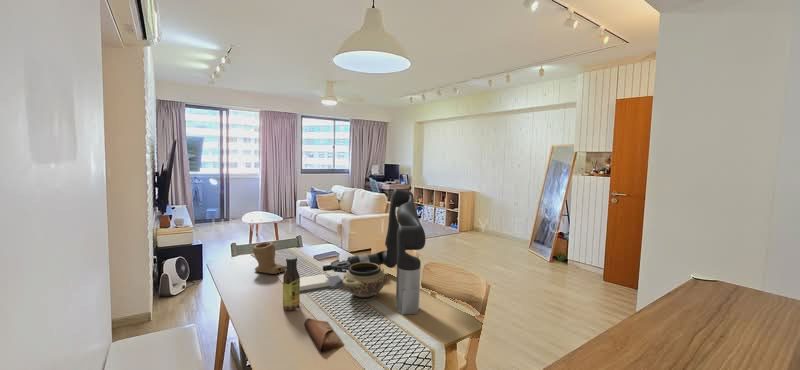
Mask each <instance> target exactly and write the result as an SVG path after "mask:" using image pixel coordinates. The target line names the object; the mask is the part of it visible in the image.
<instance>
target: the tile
mask: <svg viewBox="0 0 800 370" xmlns="http://www.w3.org/2000/svg"><path fill="white" fill-rule="evenodd" d="M327 277H328V276H327V275H325V274H316V275H315V274H314V275H311V276H303V277H300V291H305V290H311V289H317V288H323V287H329V286H330V281H329V279H328V278H327Z"/></svg>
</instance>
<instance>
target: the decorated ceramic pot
mask: <svg viewBox="0 0 800 370" xmlns="http://www.w3.org/2000/svg"><path fill="white" fill-rule="evenodd" d="M384 272H385V269H384V268H383V267H382V266H380V265H378V264H375V263H371V262H359V263H355V264H352V265H351V266H350V267H349V271H348V270H347V272H346V273H345V274H344V275H343V279H342V280H343V284H344V285H345V286H344V287H345V289H346V290H347V291H348V292H349V293H350V294H352V295H353V298H354V299H356V300H358V301H370V300H372V299H374V298H376V295H377V294H379V292H381V290H382V289H383V288H384V286H385V285H386V280H387V279H386V274H385V273H384Z"/></svg>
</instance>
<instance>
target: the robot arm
mask: <svg viewBox="0 0 800 370" xmlns="http://www.w3.org/2000/svg"><path fill="white" fill-rule="evenodd" d="M396 210H397V211H396ZM388 211H389V212H388V224H387V225H388V226H387V231H386V237H385V242H384V245H385V247H386V250H382V251H378V252H376V253H372V254H360V255H353V256H348V257H347V260H344V259H343V260H340V259H335V260H333V261H332V262H330V264H326V265H322V271H323V272H327V271H332V272H333V273H345V274H346V273H347V272H348V271H349V267H350V266H351V265H352V264H355V263H359V262H371V263H375V264H378V265H379V266H380V265H385V266H386V267H387V268H389V269H392V268H395V267H396V280H395V281H396V287H395V288H396V289H395V290H396V291H395V297H396V298H395V310H396V311H397V312H399V313H400V314H401V315H415V314H416V315H417V314H418V312H419V311H420V298H421V297H420V292H421V290H420V288H421V266H422V265H421V260H420V259H419V257H416V256H415V255H412V254H409V253H407V252H406V251H420V250H423V248H424V247H425V245H426V239H427V238H426V232H425V230H424V228H423V224H422V223H421V222H420V220H419V215H418V211H417V208H416V206H415V198H414V194H413V192H412V191H410V190H405V189H400V188H394V189H393V190H392V193H391V197H390V203H389V210H388Z"/></svg>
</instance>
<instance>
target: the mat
mask: <svg viewBox="0 0 800 370" xmlns="http://www.w3.org/2000/svg"><path fill="white" fill-rule="evenodd" d="M326 277H327V278H328V279H329V281H330V286H329V287H323V288H317V289H311V290H305V291H300V295H301V294H307V293H313V292H319V291H324V290H331V289H335V288H336V289H337V288H342V287H345V285H344V284H343V279H342V278H341V276H339V275H330V276H326Z"/></svg>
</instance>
